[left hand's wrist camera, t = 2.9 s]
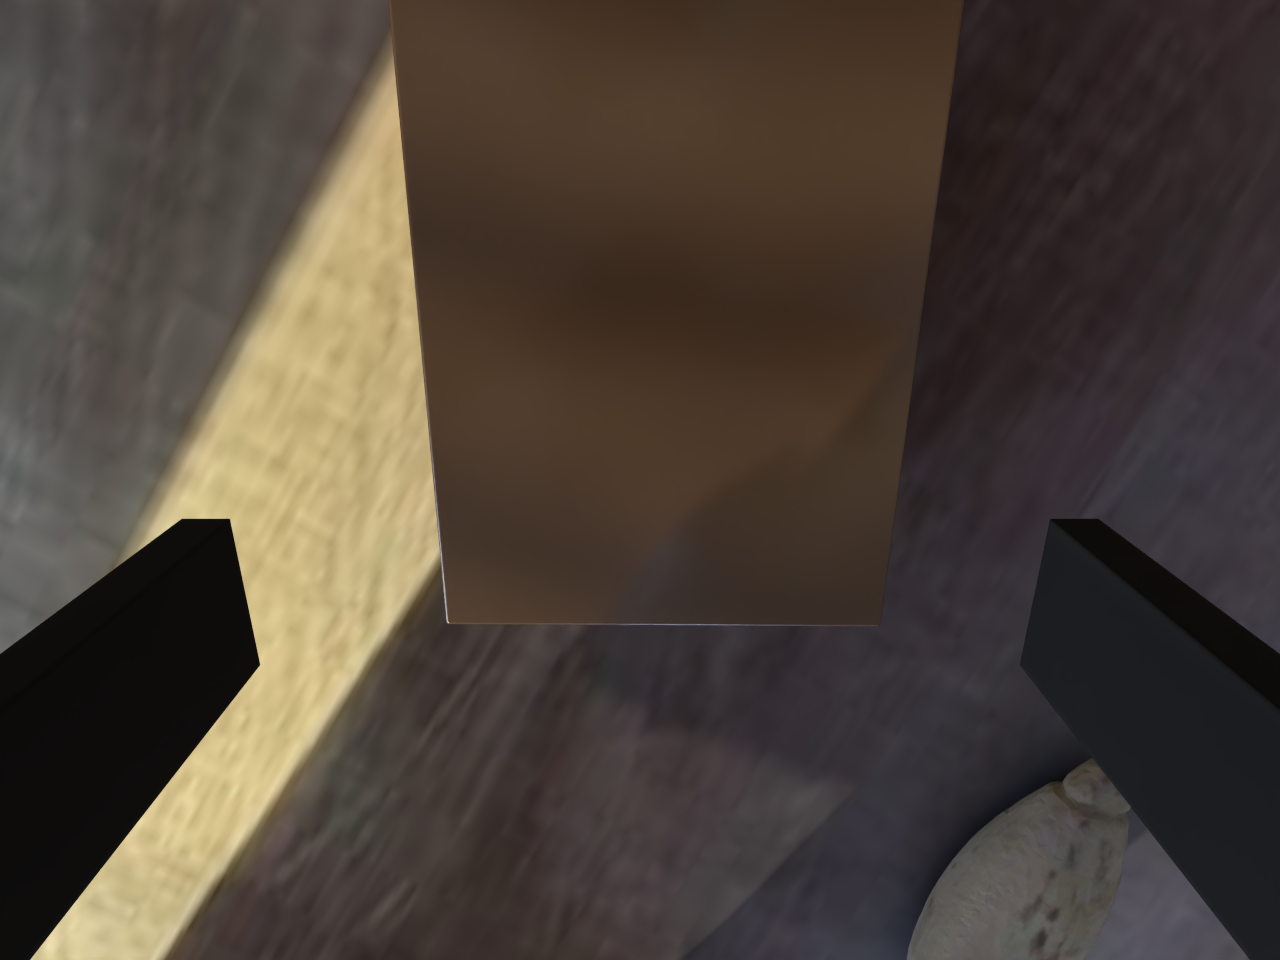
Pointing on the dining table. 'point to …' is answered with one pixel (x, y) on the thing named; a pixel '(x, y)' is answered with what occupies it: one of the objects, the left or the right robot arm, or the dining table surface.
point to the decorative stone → (1032, 877)
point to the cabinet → (670, 297)
